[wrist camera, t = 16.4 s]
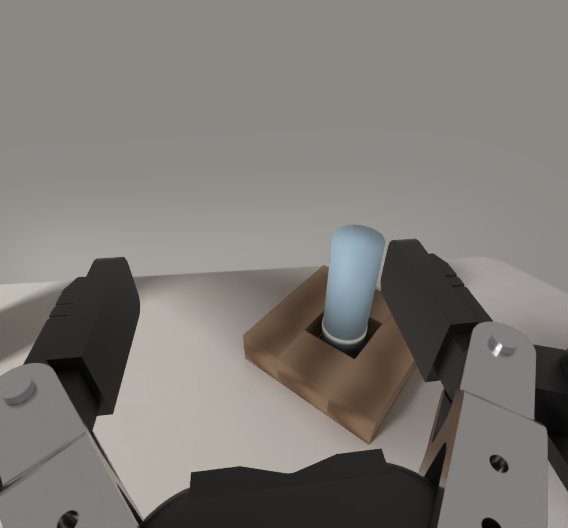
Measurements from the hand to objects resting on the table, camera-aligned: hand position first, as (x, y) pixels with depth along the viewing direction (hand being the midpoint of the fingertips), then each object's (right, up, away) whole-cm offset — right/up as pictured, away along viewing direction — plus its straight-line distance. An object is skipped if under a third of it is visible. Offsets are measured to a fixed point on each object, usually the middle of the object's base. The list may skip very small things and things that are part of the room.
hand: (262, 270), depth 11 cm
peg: (+7, -10, +32) cm, 34 cm away
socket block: (+7, -10, +32) cm, 34 cm away
